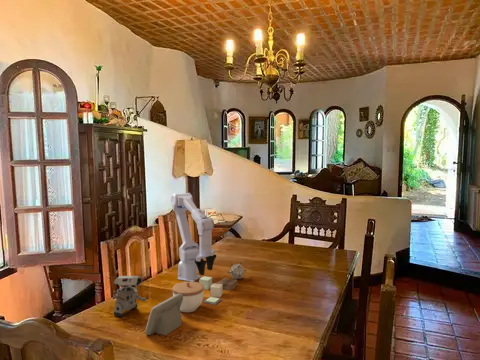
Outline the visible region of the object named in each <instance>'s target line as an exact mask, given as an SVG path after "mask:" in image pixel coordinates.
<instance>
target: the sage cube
mask: <svg viewBox="0 0 480 360" xmlns="http://www.w3.org/2000/svg"><path fill="white" fill-rule="evenodd" d="M198 279H199V280H198V283H201V284H202V285H203V286H204V290H206V291H208V290H210V287H211V285H212V284H213V277H211V276H205V275H202V276H201V277H200V278H198Z"/></svg>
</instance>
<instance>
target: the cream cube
mask: <svg viewBox="0 0 480 360" xmlns="http://www.w3.org/2000/svg"><path fill="white" fill-rule="evenodd" d="M209 290H210V297H215V298H221V297H222V295H223V294H224V292H223V290H224V289H223V284H218V283H213V282H212V285H211V287H210V288H209Z"/></svg>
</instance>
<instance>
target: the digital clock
mask: <svg viewBox="0 0 480 360" xmlns="http://www.w3.org/2000/svg"><path fill="white" fill-rule="evenodd" d="M182 300H183V295H182V294H177V295H175V296H173V295H172V296H171V297H169V298H167V299H165V300H164V301H162V302H160V303H158V304H156V305H154V306H153V307H152V308H151V310H150V313H149V315H148V319H147V323H146V326H145V331H144V332H145V335H147V336H152V335H153V334H154V333H157V334H158V335H162V336H167V335H169V334H171V333H173V331H175V330H176V329H177V328H179V327H181V326H182V320H183V319H182V313H181V311H180V307H181V304H182Z"/></svg>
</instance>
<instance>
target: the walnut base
mask: <svg viewBox="0 0 480 360" xmlns="http://www.w3.org/2000/svg"><path fill="white" fill-rule="evenodd" d="M217 284H223V290H226V291H232V290H233V289H235V288H236V287H237V286H238V279H233V278H227V277H223V278H222V279H220V280H219V281H218V282H217Z"/></svg>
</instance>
